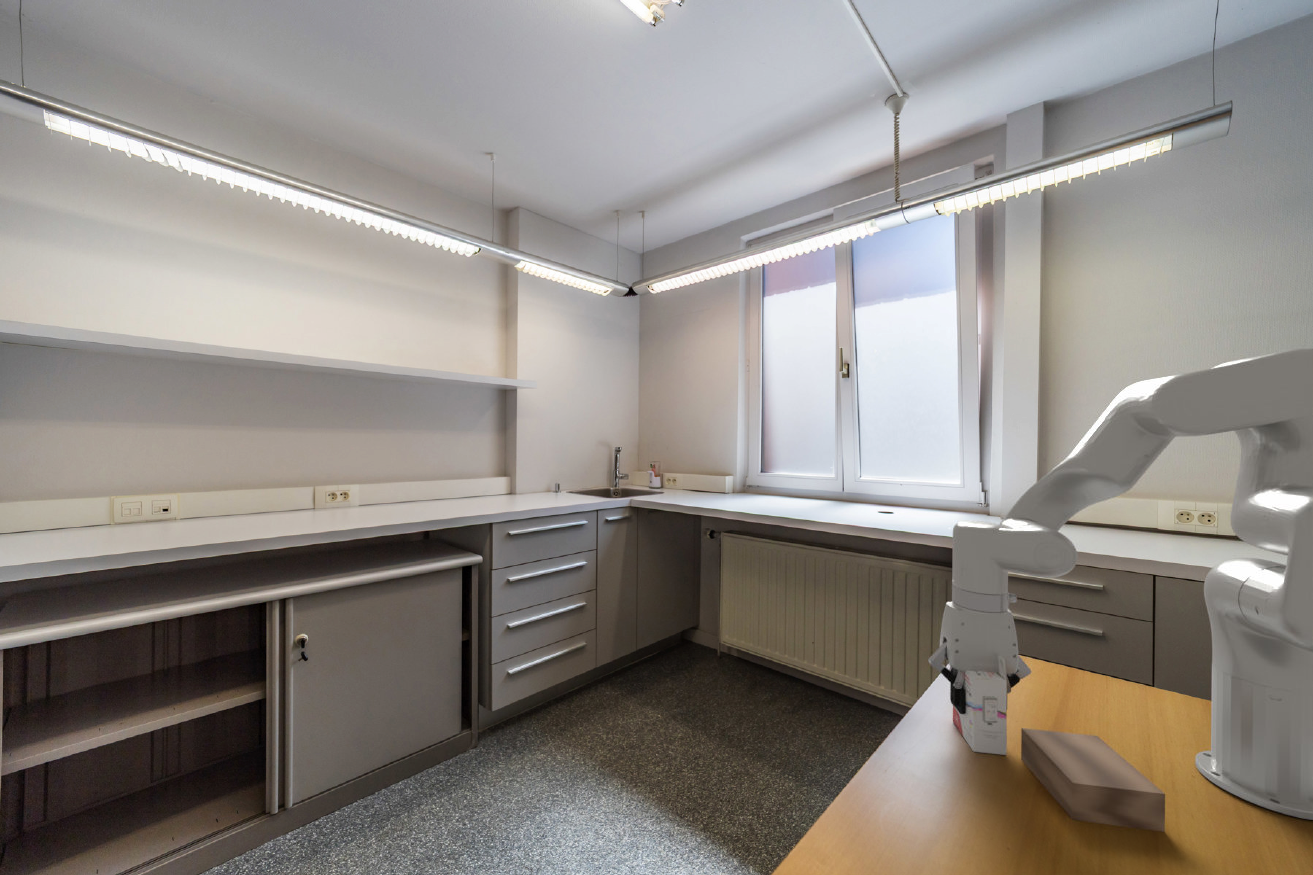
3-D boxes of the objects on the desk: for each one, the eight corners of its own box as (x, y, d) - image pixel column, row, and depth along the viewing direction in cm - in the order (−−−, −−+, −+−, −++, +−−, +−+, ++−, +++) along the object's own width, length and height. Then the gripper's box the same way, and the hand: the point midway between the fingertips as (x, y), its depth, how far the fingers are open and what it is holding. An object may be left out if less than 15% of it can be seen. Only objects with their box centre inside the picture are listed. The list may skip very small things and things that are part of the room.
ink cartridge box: (950, 721, 84) (951, 635, 84) (982, 724, 83) (983, 637, 83) (972, 752, 76) (972, 656, 76) (1008, 756, 75) (1008, 660, 75)
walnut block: (1096, 769, 73) (1097, 735, 73) (1164, 834, 61) (1165, 793, 61) (1021, 760, 74) (1021, 727, 74) (1072, 821, 63) (1072, 782, 63)
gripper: (1024, 595, 82) (1023, 704, 82) (914, 588, 85) (913, 694, 85) (1052, 610, 74) (1051, 731, 74) (930, 603, 77) (929, 718, 77)
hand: (978, 710), depth 79 cm, fingers closed on ink cartridge box, 5 cm apart
